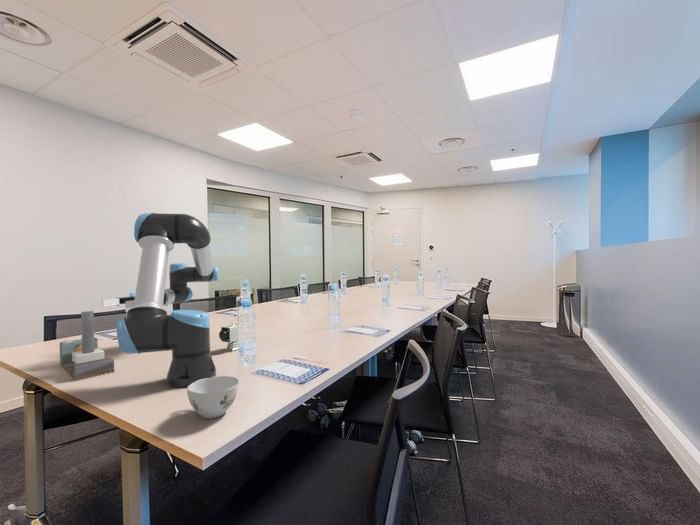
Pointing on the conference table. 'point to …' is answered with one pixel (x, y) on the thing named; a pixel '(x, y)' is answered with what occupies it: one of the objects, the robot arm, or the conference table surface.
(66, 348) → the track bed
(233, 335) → the pneumatic valve
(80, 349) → the button
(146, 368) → the conference table surface
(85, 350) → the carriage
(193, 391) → the white floral bowl
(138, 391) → the conference table surface
